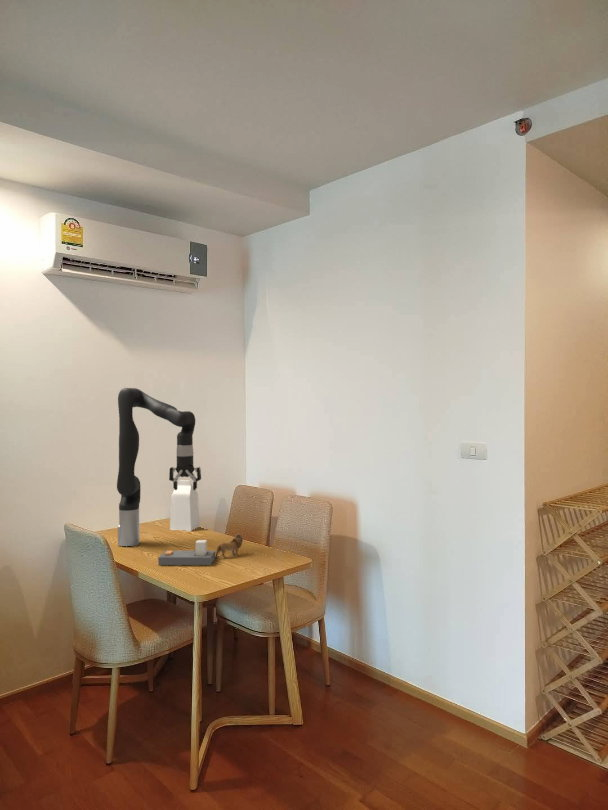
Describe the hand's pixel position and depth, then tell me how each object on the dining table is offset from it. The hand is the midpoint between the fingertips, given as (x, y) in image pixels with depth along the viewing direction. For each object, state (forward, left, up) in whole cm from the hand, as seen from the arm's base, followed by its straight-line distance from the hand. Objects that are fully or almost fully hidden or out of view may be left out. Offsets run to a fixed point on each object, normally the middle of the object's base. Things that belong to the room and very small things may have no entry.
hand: (185, 489), depth 247 cm
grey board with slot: (+5, -17, -28) cm, 33 cm away
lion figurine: (+22, -8, -28) cm, 37 cm away
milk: (-11, +42, -28) cm, 52 cm away
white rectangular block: (+11, -17, -28) cm, 35 cm away
